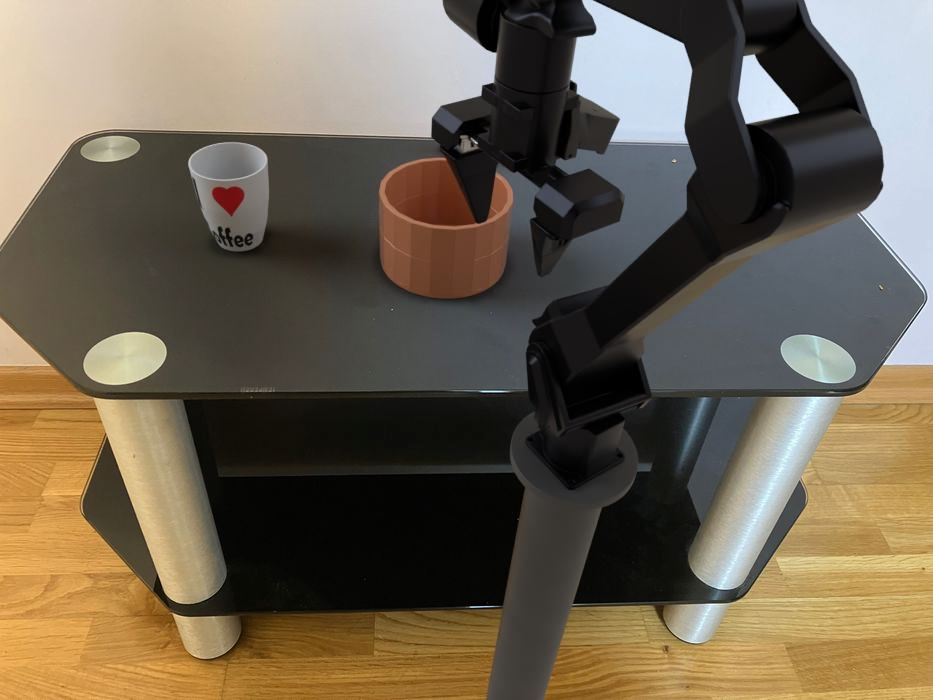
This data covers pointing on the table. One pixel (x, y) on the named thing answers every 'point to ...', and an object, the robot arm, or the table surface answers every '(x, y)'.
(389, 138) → the table surface
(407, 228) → the bowl
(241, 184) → the cup
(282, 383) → the table surface
